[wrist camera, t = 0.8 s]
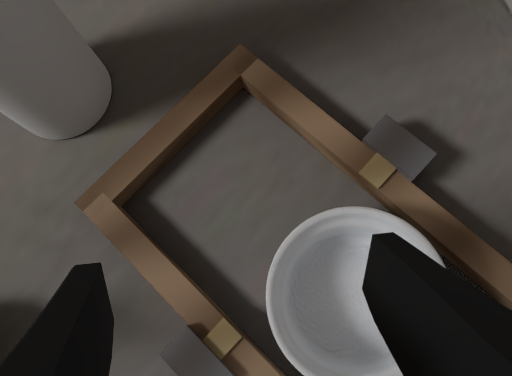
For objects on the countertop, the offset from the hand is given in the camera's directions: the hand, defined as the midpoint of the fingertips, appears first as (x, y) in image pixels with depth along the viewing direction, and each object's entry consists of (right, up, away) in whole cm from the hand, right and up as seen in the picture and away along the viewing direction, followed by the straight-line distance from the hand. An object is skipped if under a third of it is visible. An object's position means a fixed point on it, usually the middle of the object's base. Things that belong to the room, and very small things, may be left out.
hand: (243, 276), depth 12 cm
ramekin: (+6, -4, +13) cm, 15 cm away
